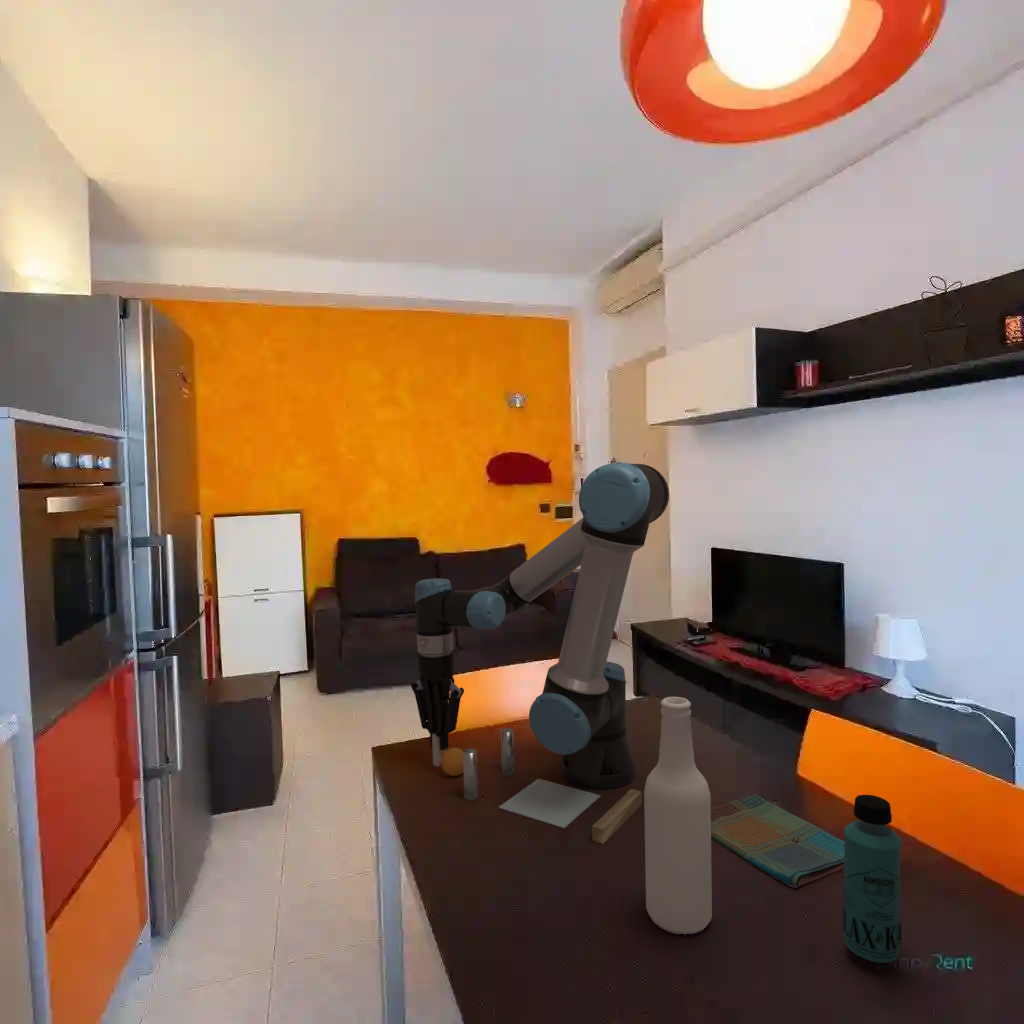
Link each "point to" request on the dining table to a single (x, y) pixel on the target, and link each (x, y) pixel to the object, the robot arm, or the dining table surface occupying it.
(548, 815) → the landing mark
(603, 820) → the wall
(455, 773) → the ball
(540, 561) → the robot arm
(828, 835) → the dish towel
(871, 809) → the beverage bottle
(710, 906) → the alcohol
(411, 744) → the dining table surface
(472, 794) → the post left
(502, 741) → the post right
